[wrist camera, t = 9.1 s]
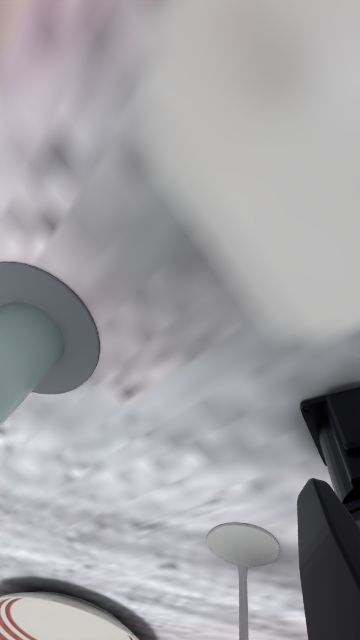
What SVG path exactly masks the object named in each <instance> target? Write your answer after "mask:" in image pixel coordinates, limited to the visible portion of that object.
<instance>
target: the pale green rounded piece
mask: <svg viewBox="0 0 360 640" xmlns="http://www.w3.org/2000/svg"><path fill="white" fill-rule="evenodd" d="M63 352H64V339H63V335H62V333H61V331H60V329H59V327H58V325H57V324H56V323H55V321H54V320H53V319H52V318H51V317H50V316H49V315H48V314H47V313H45V312H44V311H42V310H41V309H39V308H37V307H35V306H33V305H31V304H28V303H23V302H11V303H7V304H4V305H3V306H1V307H0V426H1V425H2V424H3V423H4V422H5V421H6V420H7V419H8V417H9V416H10V415H11V414H12V413H13V412H14V411H15V410H16V408H17V407H18V406H19V405H20V404H21V403H22V402H23V401H24V399H25V398H26V397H27V396H28V395H29V394H30V393H31V392H32V390H33V389H34V388H35V387H36V386H37V385H38V384H39V383H40V381H41V380H42V379H43V378H44V377H45V376H46V375H47V374H48V372H49V371H50V370H51V369H52V368H53V367H54V366H55V365H56V363H57V362H58V361H59V360H60V359H61V357H62V355H63Z"/></svg>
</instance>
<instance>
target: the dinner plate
mask: <svg viewBox="0 0 360 640" xmlns="http://www.w3.org/2000/svg"><path fill="white" fill-rule="evenodd" d="M0 640H139V639H138V638H137V637H136V636H135V635H134V634H133V633H132V632H131V631H130V630H129V629H128V628H127V627H126V626H124V625H123V624H122V622H121V621H119V620H118V619H117V618H116V617H115V616H113V615H112V614H110V613H109V612H107V611H106V610H104V609H102V608H100V607H98V606H96V605H94V604H92V603H90V602H87V601H85V600H82V599H79V598H76V597H73V596H69V595H65V594H61V593H55V592H22V593H13V594H7V595H3V596H0Z"/></svg>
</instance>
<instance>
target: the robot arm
mask: <svg viewBox="0 0 360 640" xmlns="http://www.w3.org/2000/svg"><path fill="white" fill-rule="evenodd" d="M306 408H310V409H306ZM300 410H301V413H302V415H303V417H304V420H305V422H306V424H307V426H308V429H309V431H310V433H311V435H312V438H313V440H314V442H315V444H316V447H317V449H318V451H319V453H320V456H321V458H322V460H323V462H324V464H325V466H327V467H328V471H329V474H330V478H331V481H332V484H333V488H334V491H335V492H334V491H333V489H332V488H331V487H330V485H329V484H328V483H327V482H325V481H322V480H318V479H315V478H311V479H309V480H308V482H307V483H306V485H305V486H304V488H303V489H302V491H301V492H300V494H299V496H298V500H297V516H298V548H299V569H300V578H301V586H302V594H303V603H304V610H305V618H306V625H307V633H308V640H360V388H356V389H352V390H348V391H344V392H340V393H336V394H332V395H328V396H324V397H320V398H316V399H312V400H308V401H304V402H302V403H301V404H300Z"/></svg>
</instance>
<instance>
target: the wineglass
mask: <svg viewBox="0 0 360 640" xmlns="http://www.w3.org/2000/svg"><path fill="white" fill-rule="evenodd" d="M207 544H208V547H209V549H210V550H211V551H212V552H213V553H214V554H215V555H216V556H217V557H219V558H221V559H223V560H225V561H227V562H230V563H233V564H237V565H238V571H239V640H248V602H247V570H248V566H260V565H265V564H268V563H271V562H272V561H274V560H275V559H276V558H277V557H278V555H279V552H280V548H279V543H278V541H277V540H276V538H275V537H274V536H273V535H271V534H270V533H269V532H267V531H265V530H264V529H262V528H259V527H256V526H253V525H249V524H244V523H227V524H222V525H219V526H217V527H215V528H213V529H212V530H211V531H210V532H209V534H208V536H207Z"/></svg>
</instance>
